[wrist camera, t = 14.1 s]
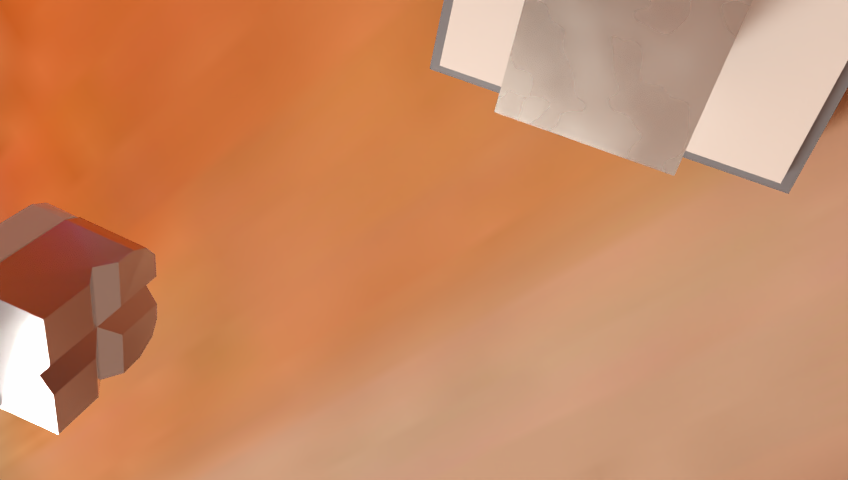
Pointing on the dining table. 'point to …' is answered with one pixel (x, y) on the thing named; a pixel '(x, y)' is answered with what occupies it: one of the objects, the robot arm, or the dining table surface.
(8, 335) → the robot arm
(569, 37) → the housing
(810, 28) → the stand
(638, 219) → the dining table surface
